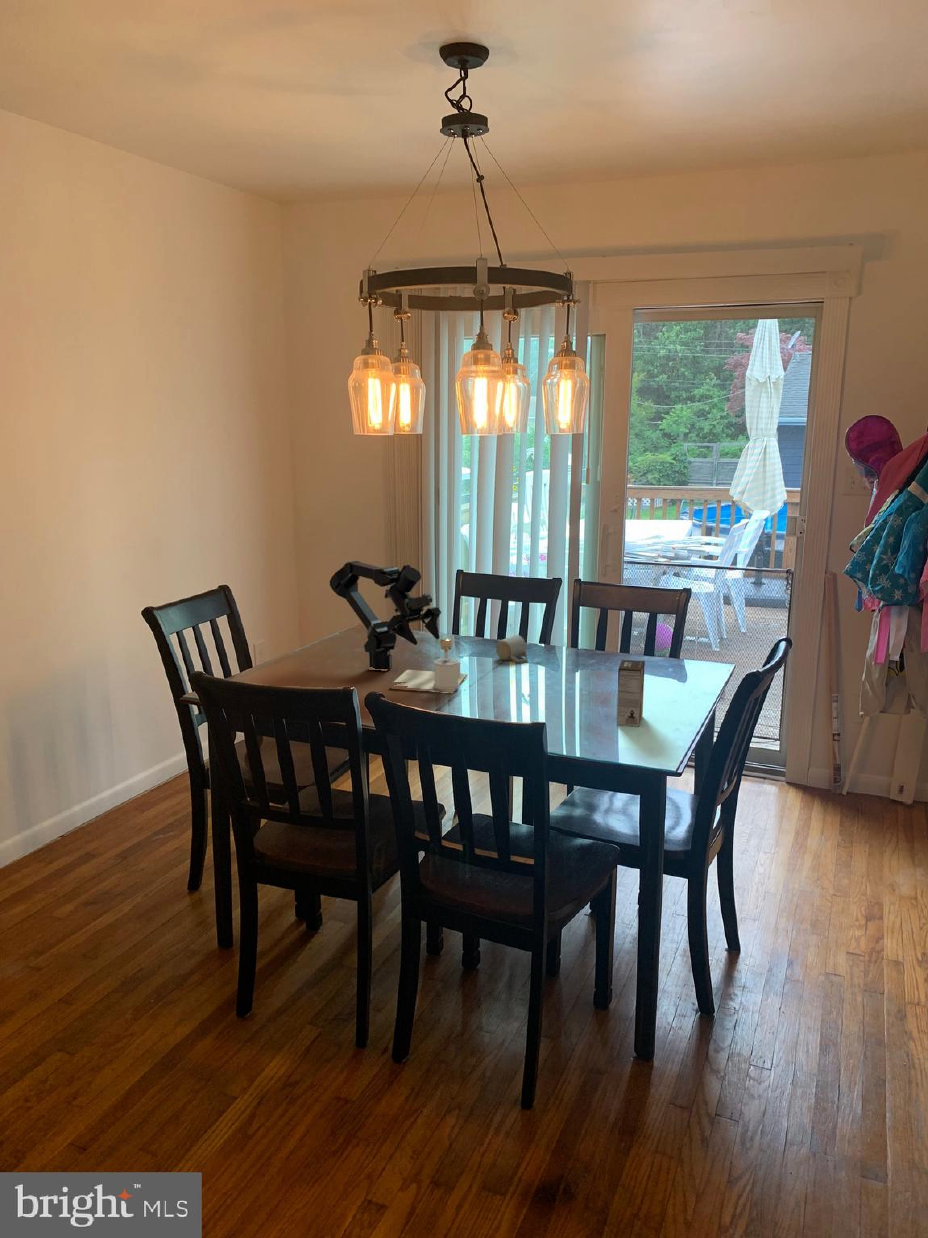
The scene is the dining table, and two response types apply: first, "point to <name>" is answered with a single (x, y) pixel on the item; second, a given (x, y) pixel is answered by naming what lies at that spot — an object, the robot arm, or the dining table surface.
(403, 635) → the robot arm
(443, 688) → the white faceted container
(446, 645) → the plunger
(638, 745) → the dining table surface
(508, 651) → the ceramic mug
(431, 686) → the birch board
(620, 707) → the coffee box
